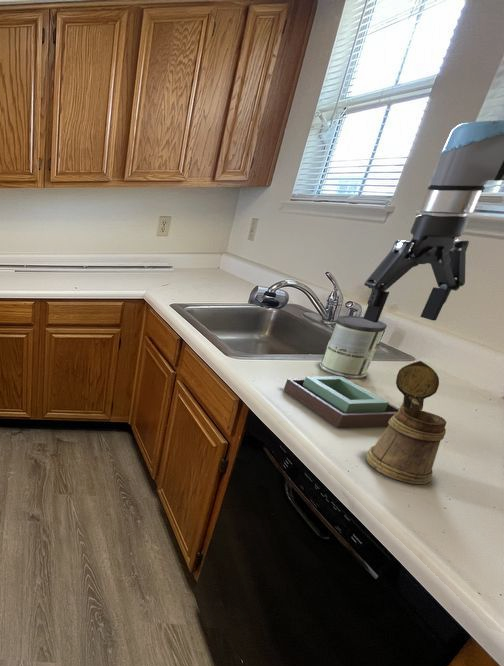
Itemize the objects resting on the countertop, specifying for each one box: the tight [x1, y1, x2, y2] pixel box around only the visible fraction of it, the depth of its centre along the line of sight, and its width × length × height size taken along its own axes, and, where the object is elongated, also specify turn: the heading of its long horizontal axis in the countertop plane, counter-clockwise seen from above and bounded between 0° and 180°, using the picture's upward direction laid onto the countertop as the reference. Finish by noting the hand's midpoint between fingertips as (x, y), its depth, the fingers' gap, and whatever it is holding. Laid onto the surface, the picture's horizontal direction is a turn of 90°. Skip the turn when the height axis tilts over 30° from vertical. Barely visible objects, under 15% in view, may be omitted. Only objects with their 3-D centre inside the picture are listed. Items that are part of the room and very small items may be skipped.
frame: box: [302, 375, 390, 413], centre depth 95 cm, size 13×9×4 cm
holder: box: [283, 378, 400, 429], centre depth 96 cm, size 17×15×3 cm
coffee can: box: [319, 315, 388, 379], centre depth 111 cm, size 10×10×14 cm
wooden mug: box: [365, 360, 447, 485], centre depth 74 cm, size 9×14×18 cm, turn 155°
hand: (399, 319), depth 90 cm, fingers open, 13 cm apart
